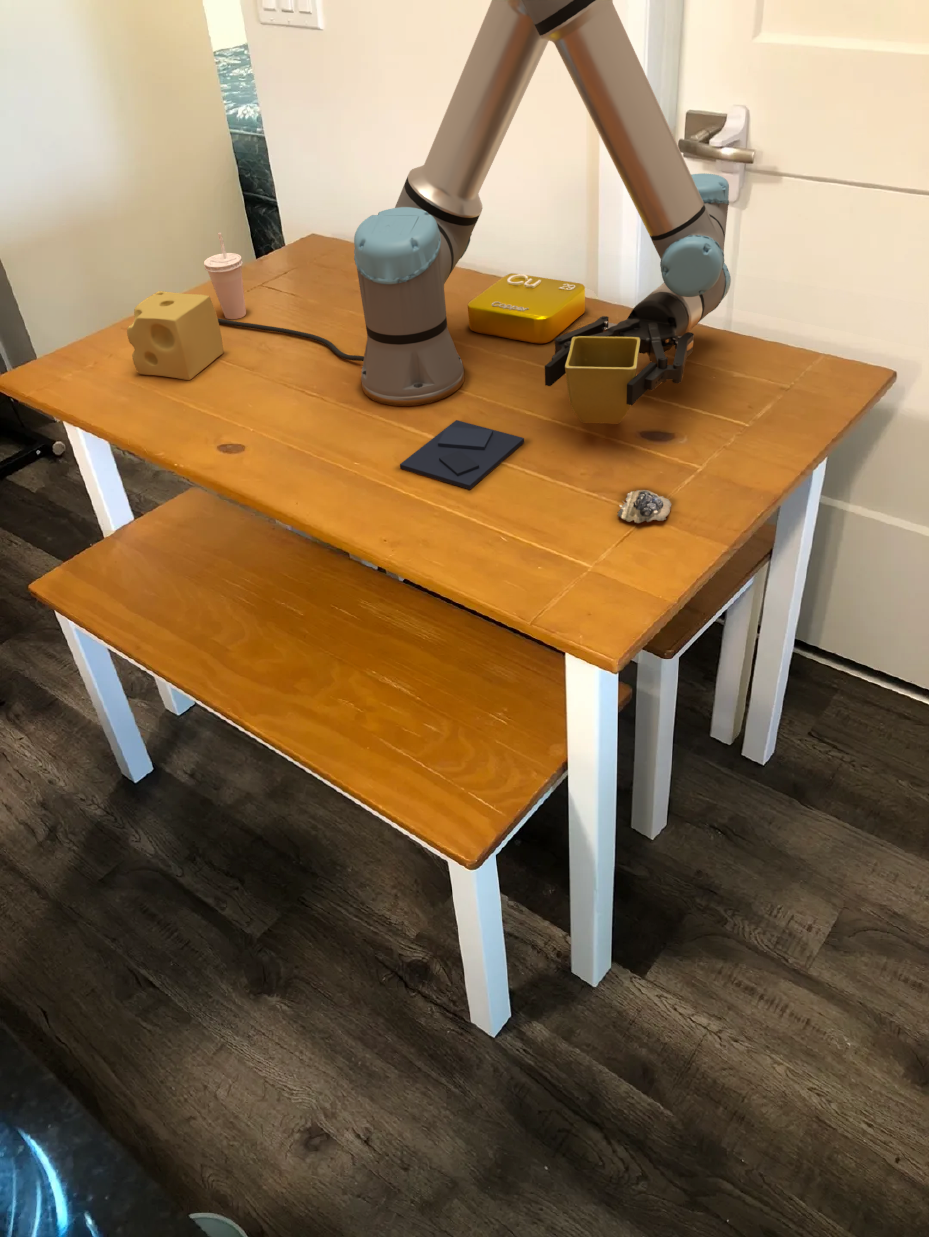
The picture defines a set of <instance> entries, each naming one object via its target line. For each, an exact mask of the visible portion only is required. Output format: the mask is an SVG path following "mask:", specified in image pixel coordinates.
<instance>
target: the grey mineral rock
mask: <svg viewBox="0 0 929 1237" xmlns="http://www.w3.org/2000/svg"><path fill="white" fill-rule="evenodd" d="M622 502H623V505H622V504H619V505H618V507H619V511H617V514H616V516H617V517H619V518H620V519H622V520H623V521H626V522H628V523H631V522H633V521H634V523H636V524H641V523H643V522H645V521H646V522H647V523H649V522H652V521H653V520H654V521H659V522H660V521H662V522H663V521H664V520H667V518H666V517H668V516H669V514H670V511H671V509H672V502H671V500H670V499H668V498H666V497H665V496H664V495H662V496H661V495H658V494H657V493H654V492H653V491H651V490H647V489H640V490H639V489H636V491H635V490H633V491H632V490H631V491H630V492H629V493H627V494H626V498H625V501H624V500H622Z"/></svg>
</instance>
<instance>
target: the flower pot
mask: <svg viewBox="0 0 929 1237" xmlns="http://www.w3.org/2000/svg"><path fill="white" fill-rule="evenodd" d="M639 347H640V338H639V337H596V336H577V337H573V338H572V340H571V346H570V351H569V354H568V358H567V361H566V364H565V371H566V374H565V378H566V386H567V387H566V388H567V395H568V401H569V404H570V407H571V409H572V411H573V413H574V414H575V416H576V417H577V419H578V420H579V422H581V423H584V424H585V423H586V424H612V425H613V424H615V425H618V424H620V423H621V422H622V421H623V420H624V418H625V417H626V415H627V413H628V412H629V409H630V407H631V405H628V404H626V401H627V384H628V383H629V382H630V381H631V380H632V379H633V378H634V377H635V376H636V375H637V369H638V367H637V366H638V360H639V354H640V353H639Z"/></svg>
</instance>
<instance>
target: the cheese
mask: <svg viewBox="0 0 929 1237" xmlns="http://www.w3.org/2000/svg"><path fill="white" fill-rule="evenodd" d="M133 314H134V320H133V322H132V324H130V325H129V326H127V327H126V328H127V329H126V334H127V335H126V336H127V339H128V342H129V344H130V345H131V346H132V347H133V349H134V350H133V352H132V354H131V357H132V362H133V365H134V367H135V369H136V371H137V373H138V375H143V376H144V375H146V376H158V377H166V378H172V379H173V378H174V379H179V380H185V381H190V380H193V378H194V377H196V376H197V375H198V374H200V373H201V372H202V371H203V370H204V369H205V368H207V367H208V366H209V365H210V364H212V363H213V362H214V361H215V360H216V359H218V358H219V357H220V356H221V355H223V354H224V344H223V336H222V332H221V327H220V323H219V322H218V318H219V317H218V316H217V315H218V314H217V312H216V309H215V306H214V303H213V300H212V298H211V296H210V295H206V294H200V293H199V294H198V293H197V294H196V293H181V292H170V291H166V290H165V291H164V290H158V291H157V292H155V293H153V294H151V295H149V296H148V297H146V298H145V299H143V300H142V301H141V302H139V303H138V304H137V305H135V307H134V309H133Z"/></svg>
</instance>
